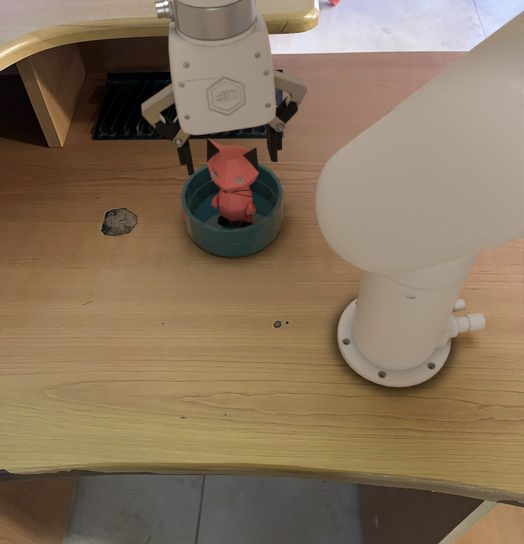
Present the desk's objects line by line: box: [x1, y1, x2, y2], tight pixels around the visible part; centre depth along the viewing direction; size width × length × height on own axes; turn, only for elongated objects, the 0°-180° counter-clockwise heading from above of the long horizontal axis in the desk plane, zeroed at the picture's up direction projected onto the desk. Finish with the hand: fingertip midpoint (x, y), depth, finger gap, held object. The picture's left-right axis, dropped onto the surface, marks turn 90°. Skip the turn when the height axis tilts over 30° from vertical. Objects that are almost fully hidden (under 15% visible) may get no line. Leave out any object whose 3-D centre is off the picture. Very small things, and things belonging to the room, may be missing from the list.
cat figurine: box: [202, 137, 259, 228], centre depth 69 cm, size 7×7×12 cm
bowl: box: [180, 162, 284, 258], centre depth 73 cm, size 13×13×5 cm
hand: (231, 160), depth 66 cm, fingers open, 9 cm apart
